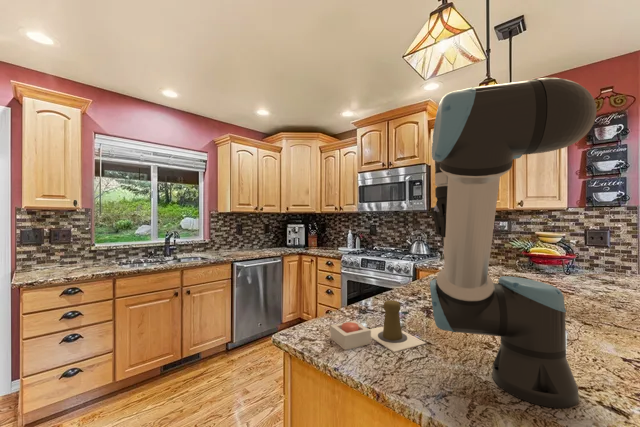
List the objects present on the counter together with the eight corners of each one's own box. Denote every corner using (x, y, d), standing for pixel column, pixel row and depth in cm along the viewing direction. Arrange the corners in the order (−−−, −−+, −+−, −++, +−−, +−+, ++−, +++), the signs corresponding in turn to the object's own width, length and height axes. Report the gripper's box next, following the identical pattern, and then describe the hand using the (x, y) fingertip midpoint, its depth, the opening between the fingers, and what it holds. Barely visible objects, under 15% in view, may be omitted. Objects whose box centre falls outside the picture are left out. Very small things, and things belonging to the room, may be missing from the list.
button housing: (370, 343, 85) (370, 330, 85) (344, 350, 81) (344, 335, 81) (354, 332, 93) (354, 320, 93) (330, 338, 89) (330, 325, 89)
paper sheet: (426, 343, 84) (426, 342, 84) (394, 352, 79) (394, 351, 79) (391, 325, 99) (391, 324, 99) (362, 331, 94) (362, 330, 94)
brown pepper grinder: (403, 341, 85) (402, 304, 85) (382, 339, 86) (381, 303, 87) (401, 333, 91) (401, 298, 91) (382, 331, 92) (381, 298, 93)
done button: (361, 336, 86) (361, 326, 86) (347, 339, 84) (347, 329, 84) (352, 330, 90) (352, 321, 90) (339, 333, 88) (338, 323, 88)
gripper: (472, 184, 91) (474, 258, 90) (439, 188, 102) (440, 253, 102) (456, 183, 87) (457, 260, 87) (424, 187, 99) (425, 255, 99)
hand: (448, 256), depth 95 cm, fingers closed
